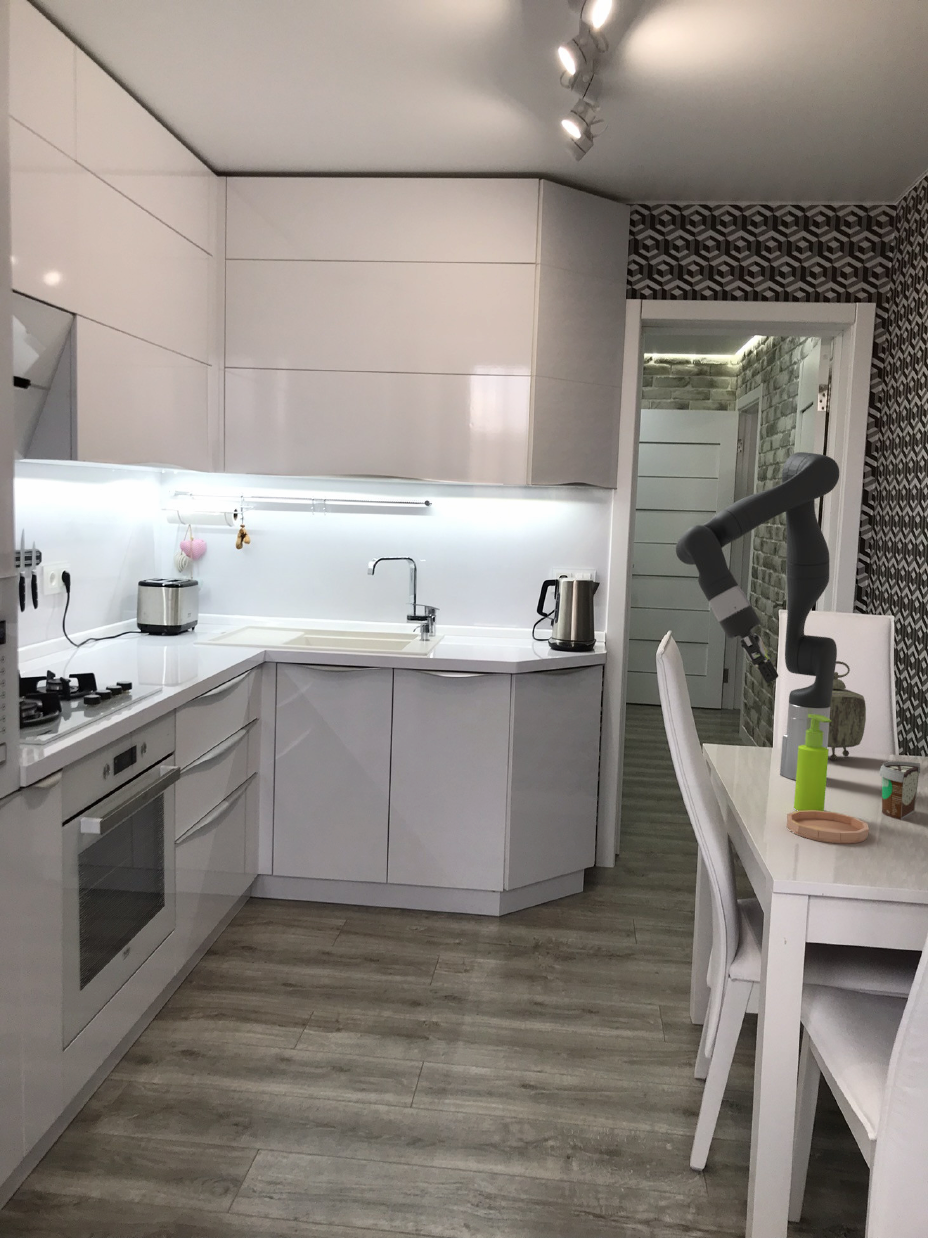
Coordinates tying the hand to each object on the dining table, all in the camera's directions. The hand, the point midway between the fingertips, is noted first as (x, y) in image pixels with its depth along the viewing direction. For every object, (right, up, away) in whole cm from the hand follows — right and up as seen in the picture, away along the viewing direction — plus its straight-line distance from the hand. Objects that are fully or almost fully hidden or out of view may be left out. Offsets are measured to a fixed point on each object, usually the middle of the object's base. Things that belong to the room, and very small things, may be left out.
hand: (773, 680), depth 214 cm
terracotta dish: (+5, -28, -17) cm, 33 cm away
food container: (+24, -28, -1) cm, 37 cm away
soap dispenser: (+7, -27, -3) cm, 28 cm away
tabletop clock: (+29, -23, +47) cm, 60 cm away
